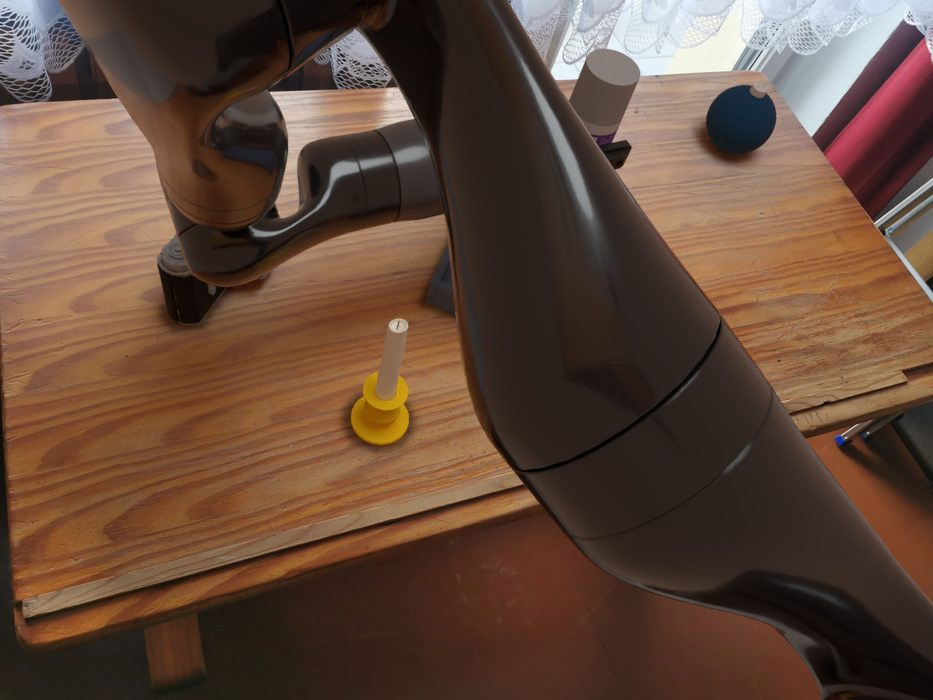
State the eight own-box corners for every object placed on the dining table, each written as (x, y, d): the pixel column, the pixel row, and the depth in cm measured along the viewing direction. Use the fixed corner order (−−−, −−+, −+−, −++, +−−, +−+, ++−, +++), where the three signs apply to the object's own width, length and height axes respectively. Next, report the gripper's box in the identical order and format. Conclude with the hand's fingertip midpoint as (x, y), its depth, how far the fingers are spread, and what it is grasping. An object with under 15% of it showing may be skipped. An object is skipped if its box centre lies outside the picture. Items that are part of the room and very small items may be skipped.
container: (572, 182, 75) (630, 47, 62) (587, 219, 72) (650, 86, 60) (527, 184, 73) (576, 46, 61) (541, 221, 71) (595, 86, 59)
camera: (225, 344, 71) (217, 276, 63) (159, 315, 72) (142, 244, 63) (299, 237, 80) (301, 165, 72) (239, 212, 80) (234, 138, 72)
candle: (338, 419, 69) (349, 319, 57) (378, 384, 72) (397, 281, 59) (381, 457, 68) (402, 363, 55) (420, 420, 71) (448, 322, 58)
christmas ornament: (742, 124, 105) (781, 61, 96) (765, 169, 100) (807, 107, 92) (686, 121, 103) (721, 57, 94) (706, 167, 98) (744, 103, 90)
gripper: (486, 197, 54) (674, 154, 61) (403, 67, 61) (582, 41, 67) (465, 265, 61) (638, 219, 67) (392, 140, 67) (557, 110, 73)
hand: (609, 130), depth 67 cm, fingers closed on container, 4 cm apart
